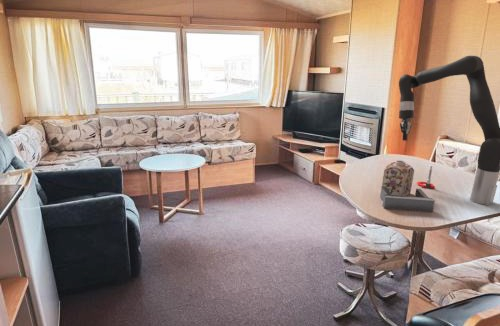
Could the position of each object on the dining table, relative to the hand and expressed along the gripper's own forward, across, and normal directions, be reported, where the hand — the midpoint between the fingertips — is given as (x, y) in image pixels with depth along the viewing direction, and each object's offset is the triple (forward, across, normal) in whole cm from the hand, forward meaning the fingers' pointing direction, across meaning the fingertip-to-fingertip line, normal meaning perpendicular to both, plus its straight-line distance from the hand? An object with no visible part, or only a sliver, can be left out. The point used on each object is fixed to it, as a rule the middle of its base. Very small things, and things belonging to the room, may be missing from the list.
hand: (404, 140), depth 190 cm
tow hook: (+26, -11, +9) cm, 29 cm away
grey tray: (+34, +25, +9) cm, 43 cm away
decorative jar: (+30, +14, +1) cm, 33 cm away
